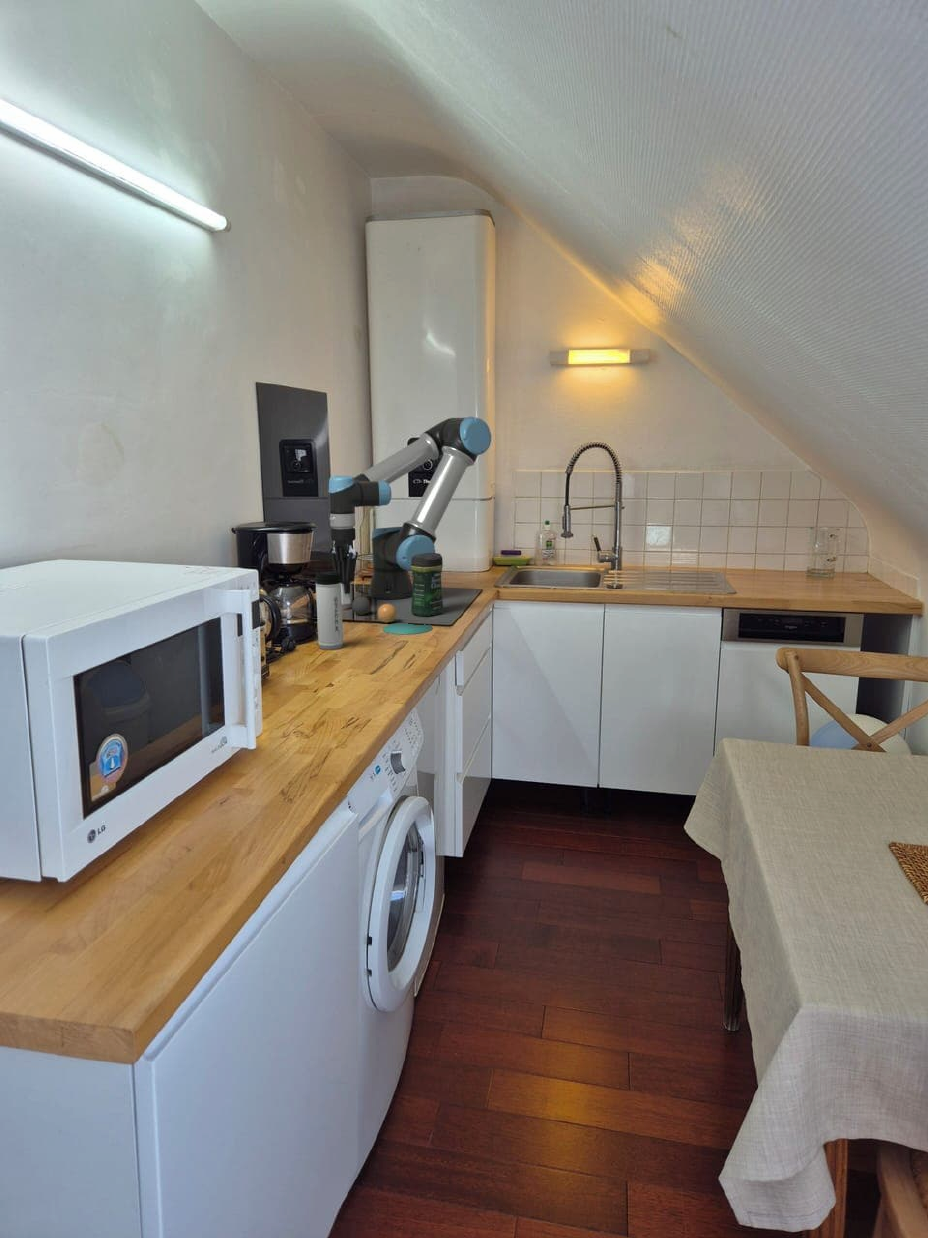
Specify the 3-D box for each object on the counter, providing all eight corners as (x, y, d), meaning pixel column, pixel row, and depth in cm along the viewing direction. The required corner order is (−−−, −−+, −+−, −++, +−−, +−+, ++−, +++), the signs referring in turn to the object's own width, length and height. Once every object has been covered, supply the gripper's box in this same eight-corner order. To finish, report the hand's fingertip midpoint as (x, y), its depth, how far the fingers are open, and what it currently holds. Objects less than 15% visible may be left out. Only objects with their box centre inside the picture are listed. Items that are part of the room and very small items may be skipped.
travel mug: (318, 644, 214) (314, 568, 210) (344, 643, 215) (341, 567, 210) (316, 650, 208) (312, 572, 204) (342, 649, 208) (339, 571, 204)
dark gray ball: (363, 612, 253) (362, 594, 251) (374, 614, 249) (373, 596, 248) (348, 614, 249) (348, 596, 248) (359, 617, 245) (359, 599, 244)
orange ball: (388, 619, 242) (388, 601, 241) (400, 622, 238) (400, 603, 237) (374, 622, 238) (373, 603, 237) (386, 625, 234) (385, 606, 233)
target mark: (410, 620, 240) (410, 620, 240) (442, 628, 231) (442, 627, 230) (372, 628, 231) (372, 627, 231) (404, 637, 221) (404, 636, 221)
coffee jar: (427, 618, 243) (426, 556, 239) (407, 615, 248) (405, 553, 244) (448, 612, 251) (447, 552, 247) (428, 609, 256) (427, 550, 252)
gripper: (321, 526, 253) (324, 601, 258) (343, 530, 243) (345, 608, 248) (342, 524, 257) (345, 599, 262) (364, 528, 247) (367, 605, 253)
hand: (345, 603), depth 255 cm, fingers closed
